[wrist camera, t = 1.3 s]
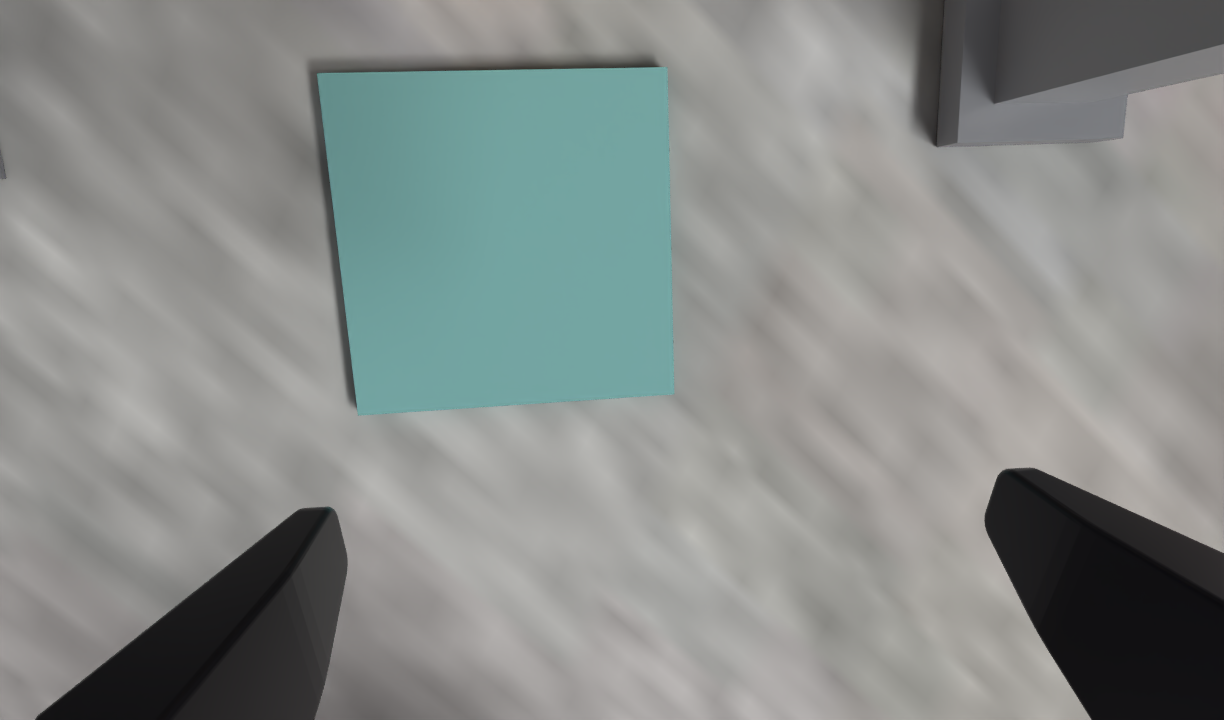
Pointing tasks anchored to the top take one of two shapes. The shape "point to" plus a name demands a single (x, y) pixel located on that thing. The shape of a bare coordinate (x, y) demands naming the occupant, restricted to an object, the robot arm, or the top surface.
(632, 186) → the mat
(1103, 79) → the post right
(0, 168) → the post
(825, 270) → the top surface
